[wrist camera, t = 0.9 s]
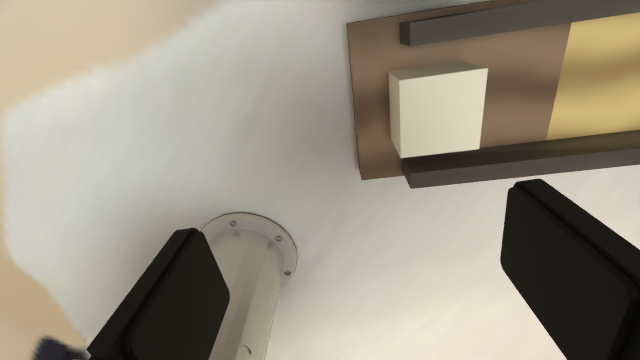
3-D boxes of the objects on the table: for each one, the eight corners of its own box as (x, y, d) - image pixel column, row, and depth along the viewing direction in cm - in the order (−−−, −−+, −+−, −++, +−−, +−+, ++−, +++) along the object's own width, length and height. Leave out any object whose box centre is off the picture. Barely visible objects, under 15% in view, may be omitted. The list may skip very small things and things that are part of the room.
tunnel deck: (723, 127, 29) (811, 151, 24) (359, 169, 32) (365, 198, 27) (811, -51, 23) (959, -74, 17) (346, 23, 26) (350, 23, 20)
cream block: (457, 130, 27) (479, 149, 23) (390, 138, 28) (400, 158, 24) (462, 60, 25) (488, 68, 21) (388, 71, 25) (399, 80, 21)
